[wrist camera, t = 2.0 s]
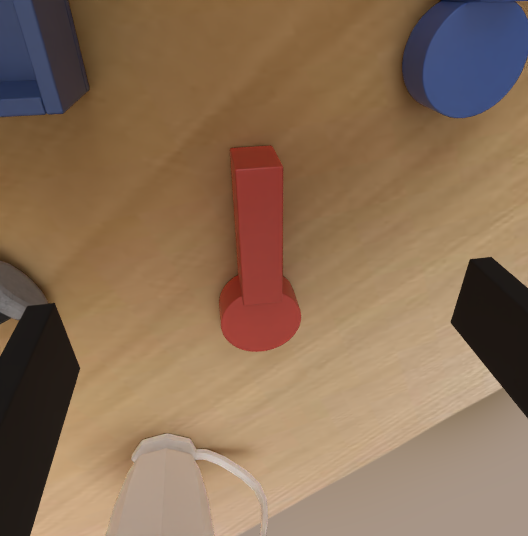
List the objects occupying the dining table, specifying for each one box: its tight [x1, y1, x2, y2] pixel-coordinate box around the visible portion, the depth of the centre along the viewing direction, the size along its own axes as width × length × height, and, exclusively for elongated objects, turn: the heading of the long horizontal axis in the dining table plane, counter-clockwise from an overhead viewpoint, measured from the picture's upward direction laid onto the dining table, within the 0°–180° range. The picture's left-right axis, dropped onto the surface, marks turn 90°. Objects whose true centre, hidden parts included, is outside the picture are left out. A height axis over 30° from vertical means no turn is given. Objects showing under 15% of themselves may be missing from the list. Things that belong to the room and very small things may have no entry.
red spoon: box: [219, 145, 301, 352], centre depth 19 cm, size 10×4×3 cm, turn 1°
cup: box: [105, 433, 268, 536], centre depth 25 cm, size 7×10×8 cm
